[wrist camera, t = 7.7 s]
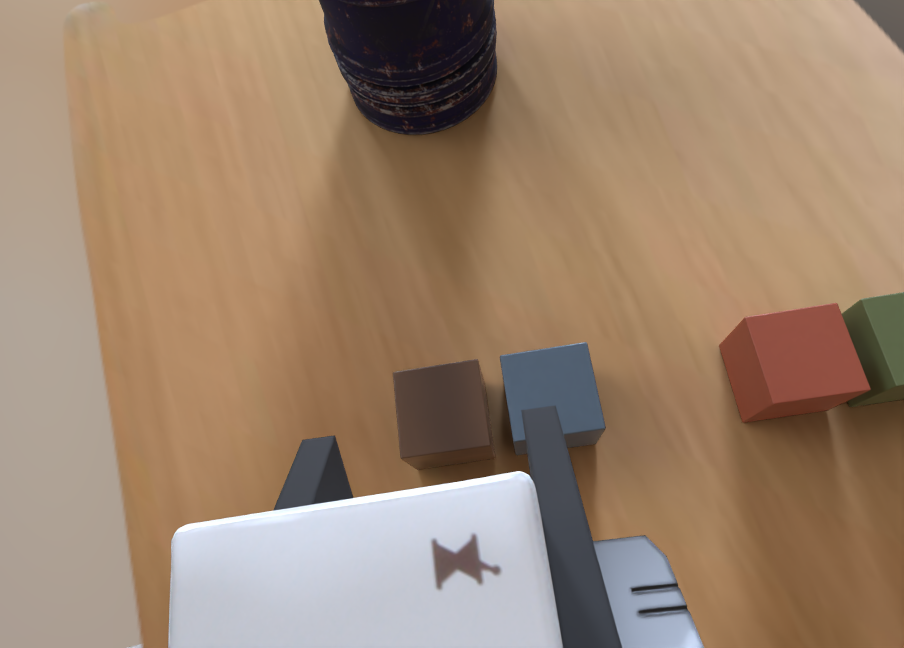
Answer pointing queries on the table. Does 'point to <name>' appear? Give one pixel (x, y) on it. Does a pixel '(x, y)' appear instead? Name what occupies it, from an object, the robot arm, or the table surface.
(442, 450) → the block
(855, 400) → the block
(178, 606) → the cosmetic box
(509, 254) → the table surface
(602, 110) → the table surface
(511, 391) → the block
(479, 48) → the storage jar
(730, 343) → the block
